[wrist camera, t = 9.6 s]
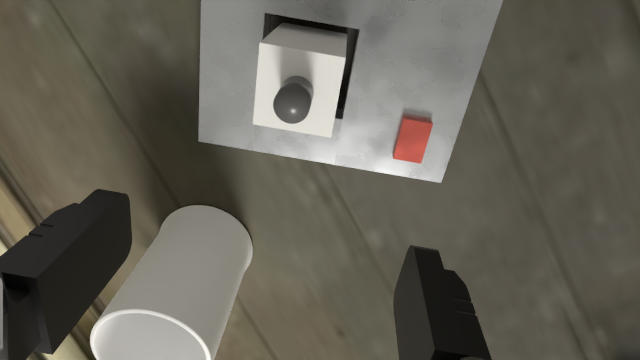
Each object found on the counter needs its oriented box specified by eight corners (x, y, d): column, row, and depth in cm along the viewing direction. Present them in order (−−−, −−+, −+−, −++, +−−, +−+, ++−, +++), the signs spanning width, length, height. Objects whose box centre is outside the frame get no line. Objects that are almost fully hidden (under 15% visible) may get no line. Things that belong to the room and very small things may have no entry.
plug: (347, 33, 28) (345, 68, 19) (335, 96, 31) (329, 155, 21) (282, 22, 28) (249, 51, 19) (275, 86, 30) (242, 140, 21)
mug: (183, 307, 42) (126, 425, 31) (118, 250, 39) (31, 359, 28) (272, 254, 38) (241, 368, 27) (207, 187, 35) (144, 285, 24)
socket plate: (493, -12, 26) (509, -9, 24) (435, 167, 33) (442, 186, 30) (214, -62, 26) (198, -64, 23) (208, 129, 32) (195, 144, 30)
